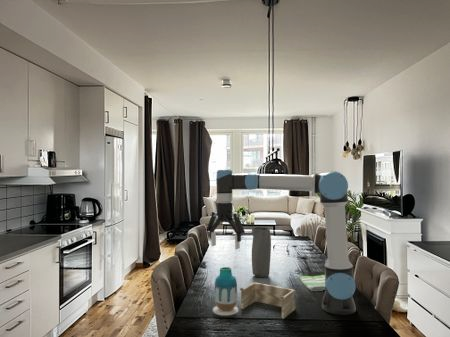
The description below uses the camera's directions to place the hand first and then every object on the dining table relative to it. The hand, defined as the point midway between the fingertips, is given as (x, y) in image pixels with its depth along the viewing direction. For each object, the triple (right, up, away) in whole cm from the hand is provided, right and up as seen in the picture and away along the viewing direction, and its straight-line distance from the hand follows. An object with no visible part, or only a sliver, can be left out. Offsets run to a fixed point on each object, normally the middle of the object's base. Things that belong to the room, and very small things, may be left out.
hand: (225, 247), depth 164 cm
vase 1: (0, -29, -1) cm, 29 cm away
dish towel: (+54, -31, +37) cm, 72 cm away
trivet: (0, -30, -1) cm, 30 cm away
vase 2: (+23, -31, +54) cm, 66 cm away
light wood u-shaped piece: (+20, -29, 0) cm, 36 cm away
